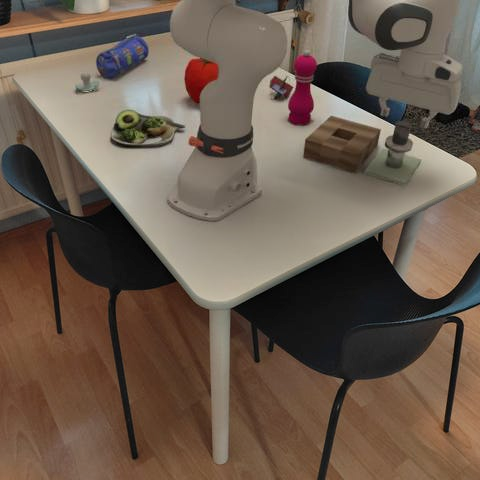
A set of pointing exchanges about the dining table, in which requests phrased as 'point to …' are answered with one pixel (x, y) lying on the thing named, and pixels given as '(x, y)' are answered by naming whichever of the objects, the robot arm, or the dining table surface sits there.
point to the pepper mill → (302, 90)
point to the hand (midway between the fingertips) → (403, 121)
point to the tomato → (199, 76)
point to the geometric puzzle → (281, 87)
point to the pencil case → (122, 56)
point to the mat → (395, 175)
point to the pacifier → (86, 83)
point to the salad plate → (142, 129)
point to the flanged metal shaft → (398, 144)
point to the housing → (341, 143)
